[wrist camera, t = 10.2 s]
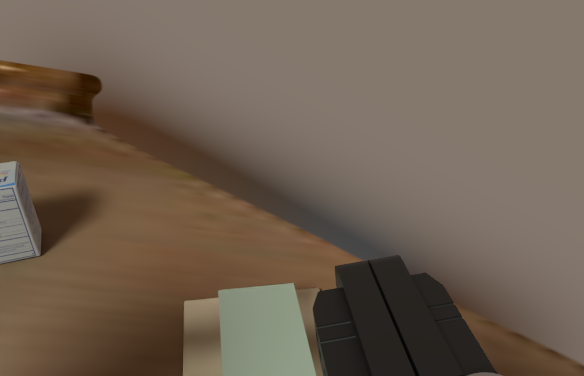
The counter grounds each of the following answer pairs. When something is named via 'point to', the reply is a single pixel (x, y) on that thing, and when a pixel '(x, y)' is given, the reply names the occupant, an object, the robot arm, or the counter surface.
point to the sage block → (263, 332)
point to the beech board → (207, 339)
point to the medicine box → (17, 216)
